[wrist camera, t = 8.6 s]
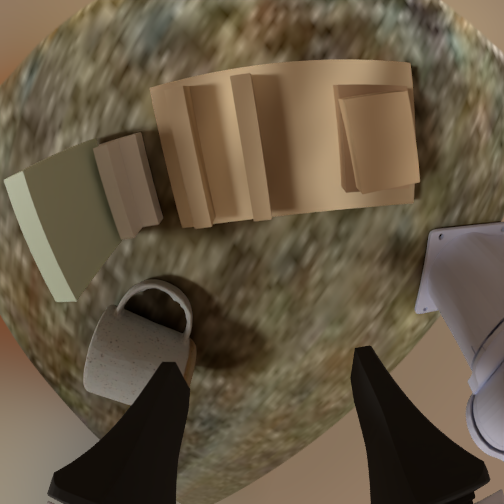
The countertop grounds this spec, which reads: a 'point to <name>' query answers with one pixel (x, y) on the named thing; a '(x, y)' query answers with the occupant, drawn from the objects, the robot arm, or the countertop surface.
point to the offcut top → (381, 140)
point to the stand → (128, 184)
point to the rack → (264, 140)
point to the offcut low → (344, 151)
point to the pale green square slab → (65, 218)
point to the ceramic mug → (136, 347)
